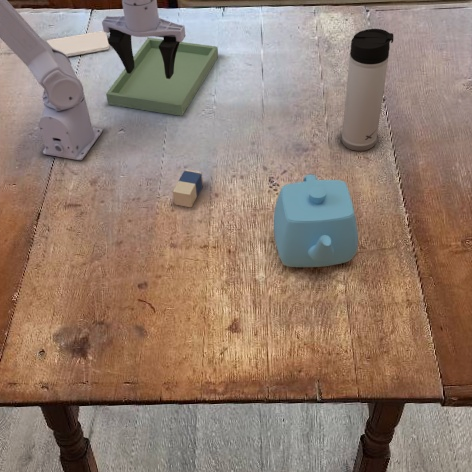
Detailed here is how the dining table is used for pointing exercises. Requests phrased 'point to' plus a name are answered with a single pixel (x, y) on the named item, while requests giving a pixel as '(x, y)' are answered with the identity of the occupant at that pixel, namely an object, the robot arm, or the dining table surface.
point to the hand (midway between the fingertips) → (150, 73)
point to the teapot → (315, 223)
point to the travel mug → (365, 88)
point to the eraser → (188, 188)
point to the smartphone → (81, 43)
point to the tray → (163, 78)
